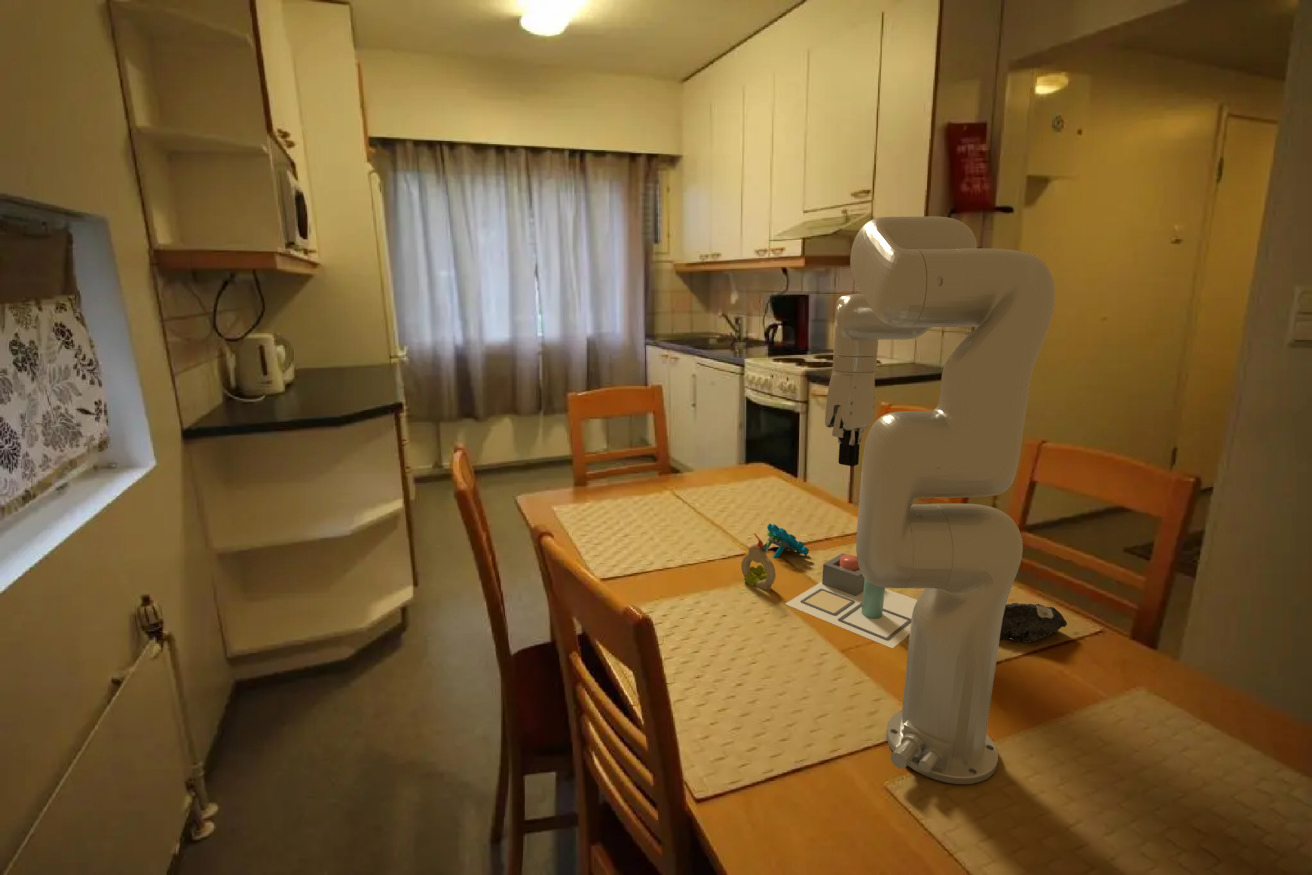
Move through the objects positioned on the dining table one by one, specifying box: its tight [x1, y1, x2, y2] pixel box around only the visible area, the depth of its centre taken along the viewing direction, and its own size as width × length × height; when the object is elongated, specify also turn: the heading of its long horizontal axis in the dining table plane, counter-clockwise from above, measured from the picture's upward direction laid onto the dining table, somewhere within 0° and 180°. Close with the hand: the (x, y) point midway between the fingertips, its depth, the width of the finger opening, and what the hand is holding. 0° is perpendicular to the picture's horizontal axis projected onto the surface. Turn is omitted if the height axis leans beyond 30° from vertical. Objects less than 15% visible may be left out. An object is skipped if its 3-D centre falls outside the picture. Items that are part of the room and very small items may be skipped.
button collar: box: [821, 553, 865, 596], centre depth 122 cm, size 7×7×4 cm
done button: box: [840, 554, 859, 572], centre depth 122 cm, size 4×4×5 cm
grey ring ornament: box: [740, 532, 777, 591], centre depth 122 cm, size 8×8×12 cm
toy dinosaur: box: [766, 523, 810, 559], centre depth 135 cm, size 11×6×10 cm
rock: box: [1000, 602, 1068, 643], centre depth 105 cm, size 12×8×10 cm
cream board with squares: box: [784, 581, 918, 650], centre depth 114 cm, size 18×20×1 cm
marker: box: [861, 579, 886, 619], centre depth 110 cm, size 4×4×11 cm
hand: (848, 464), depth 120 cm, fingers closed
